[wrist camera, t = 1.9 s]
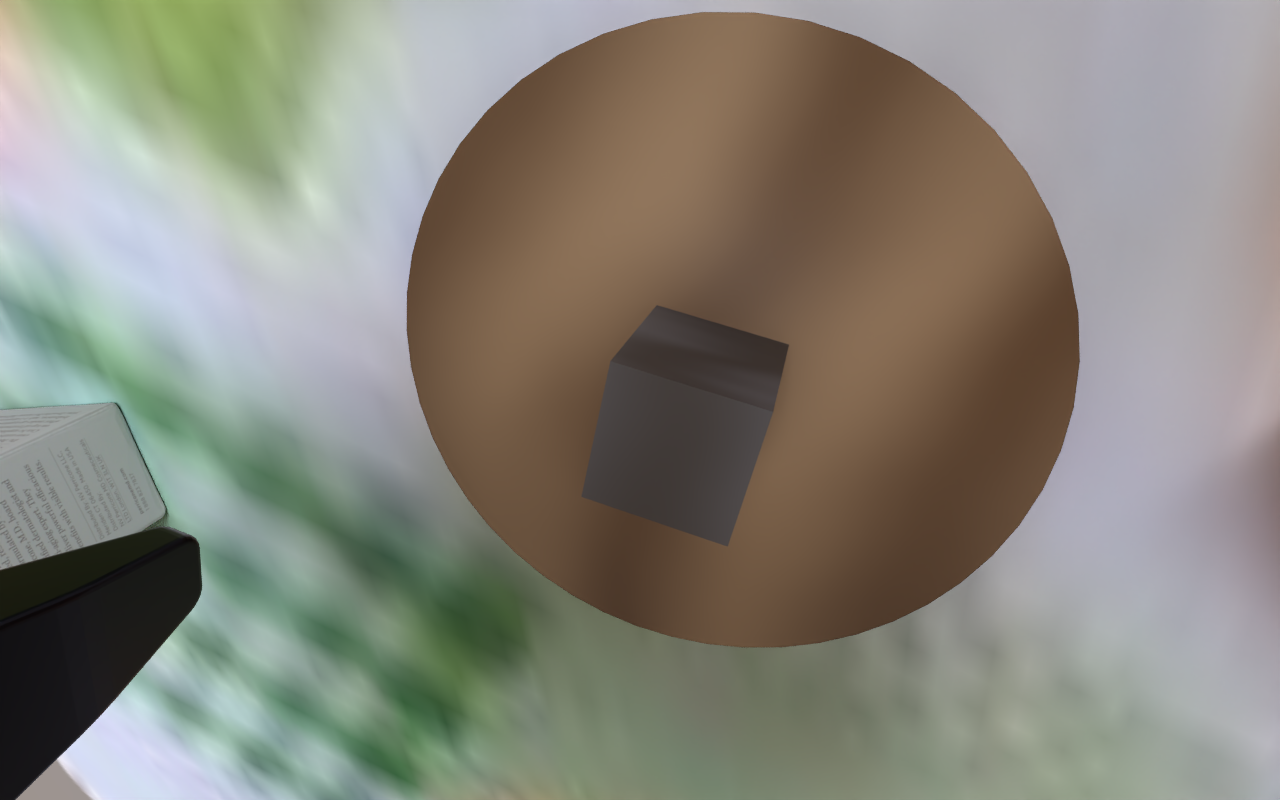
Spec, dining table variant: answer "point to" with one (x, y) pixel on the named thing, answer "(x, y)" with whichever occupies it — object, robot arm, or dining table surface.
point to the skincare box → (70, 481)
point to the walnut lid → (743, 329)
